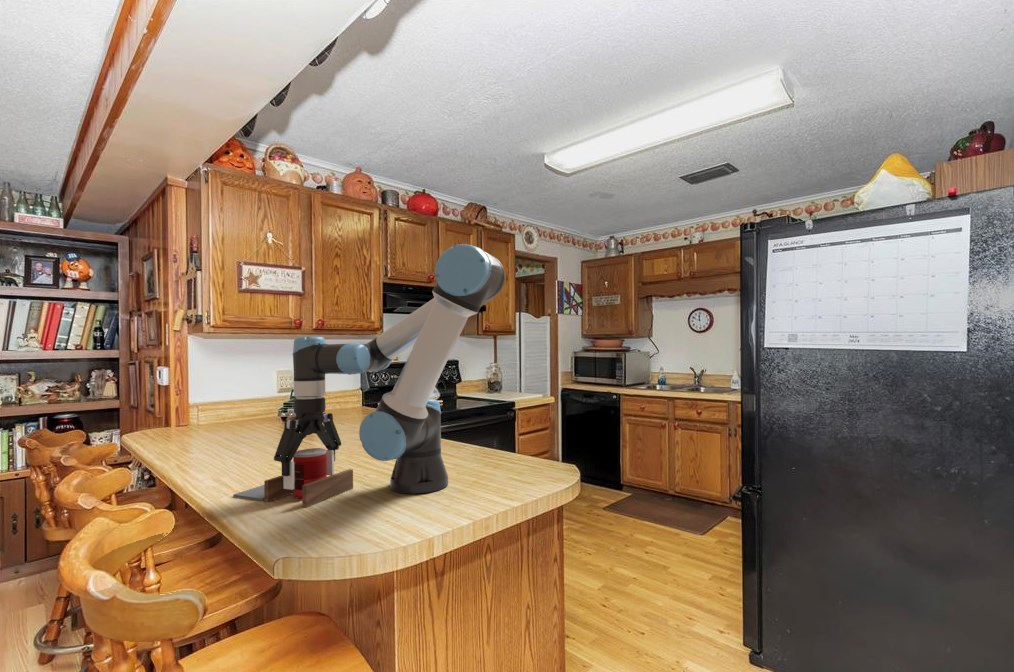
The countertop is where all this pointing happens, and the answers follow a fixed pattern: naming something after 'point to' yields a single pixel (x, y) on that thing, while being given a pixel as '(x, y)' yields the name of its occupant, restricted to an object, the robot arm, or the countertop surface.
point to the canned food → (308, 468)
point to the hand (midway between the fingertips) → (310, 481)
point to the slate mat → (252, 494)
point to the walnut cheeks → (311, 488)
